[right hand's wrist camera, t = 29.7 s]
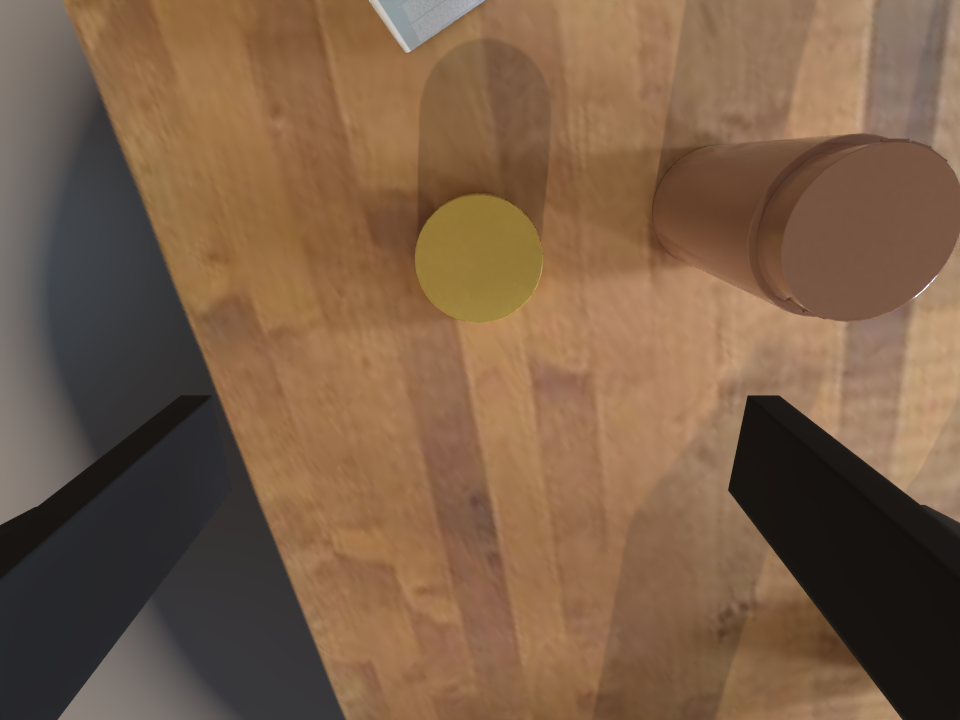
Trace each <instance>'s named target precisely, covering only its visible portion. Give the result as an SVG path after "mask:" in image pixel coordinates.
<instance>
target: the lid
mask: <svg viewBox="0 0 960 720" xmlns="http://www.w3.org/2000/svg"><path fill="white" fill-rule="evenodd" d="M527 216H528V215H527V214H526V213H523V212H522V211H521V210H520V209H519V208H518V207H517V205H516V204H515V203H514V204H513V203H511V202H510V201H508V200H506V199H505V198H504V197H503V196H502V197H499V196H496V195H492V194H491V193H489V194H487V193H477V192H475V193H470V194H465V195H463V194H461V196H458V197H456V198H453V199H451V200H450V199H449V200H448V201H447V202H446V203H445V204H443V205H442V206H441V207H440V208H439V207H438V208H437V209H436V211H435V212H434V213H433V214H432V216H431V217H429V218H428V219H427V220H426V221H427V222H426V223H425V225H424V226H423V228H422V230H421V231H420V232H419V233H420V234H419V237H418V240H417V244H416V245H415V247H416V249H415V259H414V261H415V269H416V274H417V277H418V280H419V283H420V285H421V287H422V289H423V291H424V293H425V294H426V296H427V297H428V299H429V300H430V301H431V302H432V303H433V304H434V305H435V306H436V307H437V308H438V309H439V310H441V311H442V312H444V313H445V314H447V315H449V316H451V317H453V318H455V319H458V320H461V321H465V322H471V323H487V322H493V321H496V320H500V319H502V318H505V317H507V316H509V315H510V314H512V313H514V312H515V311H517V310H518V309H519V308H521V307H522V306H523V305H524V304H525V303H526V302H527V300H528V299H529V298H530V297H531V295H532V294H533V292H534V290H535V289H536V286H537V284H538V282H539V279H540V275H541V271H542V264H543V253H542V247H541V243H540V241H541V240H540V238H539V236H538V234H537V231H536V229H535V228H536V227H535V226H534V225H533V224H532V223H531V221H530V220H529V219H528V217H527Z"/></svg>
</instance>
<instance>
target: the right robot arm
mask: <svg viewBox="0 0 960 720" xmlns="http://www.w3.org/2000/svg"><path fill="white" fill-rule="evenodd" d="M231 491H232V489H231V484H230V479H229V474H228V469H227V464H226V460H225V455H224V450H223V445H222V440H221V435H220V431H219V426H218V421H217V416H216V411H215V407H214V402H213V397H212V396H180V397H178V398H177V399H176V400H175V401H173V402H172V403H171V404H169V405H168V406H167V407H166V408H164V409H163V410H162V411H160V412H159V413H158V414H157V415H155V416H154V417H153V418H151V419H150V420H149V421H147V422H146V423H145V424H144V425H142V426H141V427H140V428H139V429H137V430H136V431H135V432H133V433H132V434H131V435H129V436H128V437H127V438H126V439H124V440H123V441H122V442H120V443H119V444H118V445H117V446H115V447H114V448H113V449H111V450H110V451H109V452H107V453H106V454H105V455H104V456H102V457H101V458H100V459H98V460H97V461H96V462H95V463H93V464H92V465H91V466H89V467H88V468H87V469H86V470H84V471H83V472H82V473H80V474H79V475H78V476H77V477H75V478H74V479H73V480H71V481H70V482H69V483H67V484H66V485H65V486H64V487H62V488H61V489H60V490H58V491H57V492H56V493H55V494H53V495H52V496H51V497H49V498H48V499H47V500H46V501H44V502H43V503H42V504H40V505H39V506H38V507H34V508H32V509H31V510H29V511H27V512H25V513H23V514H21V515H19V516H17V517H15V518H13V519H11V520H9V521H7V522H5V523H3V524H1V525H0V720H58V718H59V717H60V716H61V714H62V713H63V712H64V710H65V709H66V708H67V706H68V705H69V704H70V702H71V701H72V700H73V698H74V697H75V696H76V694H77V693H78V692H79V691H80V689H81V688H82V687H83V685H84V684H85V683H86V681H87V680H88V679H89V677H90V676H91V675H92V673H93V672H94V671H95V670H96V668H97V667H98V666H99V664H100V663H101V662H102V660H103V659H104V658H105V656H106V655H107V654H108V652H109V651H110V650H111V649H112V647H113V646H114V645H115V643H116V642H117V641H118V639H119V638H120V637H121V635H122V634H123V633H124V631H125V630H126V629H127V627H128V626H129V625H130V623H131V622H132V621H133V620H134V618H135V617H136V616H137V614H138V613H139V612H140V610H141V609H142V608H143V606H144V605H145V604H146V602H147V601H148V600H149V599H150V597H151V596H152V595H153V593H154V592H155V591H156V589H157V588H158V587H159V585H160V584H161V583H162V581H163V580H164V579H165V578H166V576H167V575H168V574H169V572H170V571H171V570H172V568H173V567H174V566H175V564H176V563H177V562H178V560H179V559H180V558H181V556H182V555H183V554H184V553H185V551H186V550H187V549H188V547H189V546H190V545H191V543H192V542H193V541H194V539H195V538H196V537H197V535H198V534H199V533H200V531H201V530H202V529H203V527H204V526H205V525H206V524H207V522H208V521H209V520H210V518H211V517H212V516H213V514H214V513H215V512H216V510H217V509H218V508H219V506H220V505H221V504H222V502H223V501H224V500H225V499H226V497H227V496H228V495H229V493H230V492H231ZM728 491H729V492H730V493H731V495H732V496H733V497H734V499H735V500H736V501H737V503H738V504H739V505H740V506H741V508H742V509H743V510H744V512H745V513H746V514H747V516H748V517H749V518H750V520H751V521H752V522H753V524H754V525H755V526H756V528H757V529H758V530H759V531H760V533H761V534H762V535H763V537H764V538H765V539H766V541H767V542H768V543H769V545H770V546H771V547H772V549H773V550H774V551H775V553H776V554H777V555H778V556H779V558H780V559H781V560H782V562H783V563H784V564H785V566H786V567H787V568H788V570H789V571H790V572H791V574H792V575H793V576H794V578H795V579H796V580H797V581H798V583H799V584H800V585H801V587H802V588H803V589H804V591H805V592H806V593H807V595H808V596H809V597H810V599H811V600H812V601H813V602H814V604H815V605H816V606H817V608H818V609H819V610H820V612H821V613H822V614H823V616H824V617H825V618H826V620H827V621H828V622H829V624H830V625H831V626H832V627H833V629H834V630H835V631H836V633H837V634H838V635H839V637H840V638H841V639H842V641H843V642H844V643H845V645H846V646H847V647H848V649H849V650H850V651H851V652H852V654H853V655H854V656H855V658H856V659H857V660H858V662H859V663H860V664H861V666H862V667H863V668H864V670H865V671H866V672H867V674H868V675H869V676H870V677H871V679H872V680H873V681H874V683H875V684H876V685H877V687H878V688H879V689H880V691H881V692H882V693H883V695H884V696H885V697H886V699H887V700H888V701H889V702H890V704H891V705H892V706H893V708H894V709H895V710H896V712H897V713H898V714H899V716H900V717H901V718H902V720H960V523H959V522H957V521H955V520H953V519H951V518H949V517H947V516H945V515H943V514H942V513H940V512H938V511H936V510H934V509H932V508H930V507H928V506H926V505H920V504H918V503H917V502H916V501H914V500H913V499H912V498H911V497H909V496H908V495H907V494H905V493H904V492H903V491H902V490H900V489H899V488H898V487H896V486H895V485H894V484H893V483H891V482H890V481H889V480H887V479H886V478H885V477H884V476H882V475H881V474H880V473H878V472H877V471H876V470H874V469H873V468H872V467H871V466H869V465H868V464H867V463H865V462H864V461H863V460H862V459H860V458H859V457H858V456H856V455H855V454H854V453H853V452H851V451H850V450H849V449H847V448H846V447H845V446H843V445H842V444H841V443H840V442H838V441H837V440H836V439H834V438H833V437H832V436H831V435H829V434H828V433H827V432H825V431H824V430H823V429H822V428H820V427H819V426H818V425H816V424H815V423H814V422H813V421H811V420H810V419H809V418H807V417H806V416H805V415H803V414H802V413H801V412H800V411H798V410H797V409H796V408H794V407H793V406H792V405H791V404H789V403H788V402H787V401H785V400H784V399H783V398H782V397H780V396H748V397H747V401H746V406H745V411H744V416H743V421H742V426H741V430H740V435H739V440H738V445H737V450H736V455H735V459H734V464H733V469H732V474H731V479H730V484H729V488H728Z"/></svg>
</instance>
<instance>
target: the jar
mask: <svg viewBox="0 0 960 720" xmlns="http://www.w3.org/2000/svg"><path fill="white" fill-rule="evenodd" d="M652 220H653V226H654V230H655V233H656V236H657V238H658V240H659V242H660V243H661V244H662V246H663V247H664V248H665V249H666V250H667V251H668V252H669V253H670V254H671V255H672V256H674V257H676V258H677V259H679V260H681V261H683V262H685V263H687V264H690V265H692V266H694V267H696V268H698V269H700V270H702V271H704V272H706V273H708V274H710V275H712V276H715V277H717V278H719V279H721V280H723V281H725V282H727V283H729V284H731V285H733V286H735V287H737V288H740V289H742V290H744V291H746V292H748V293H750V294H752V295H754V296H756V297H758V298H760V299H762V300H765V301H767V302H769V303H771V304H773V305H775V306H777V307H779V308H781V309H783V310H786V311H788V312H791V313H794V314H798V315H802V316H811V317H820V318H823V319H830V320H834V321H845V322H848V321H861V320H867V319H871V318H875V317H878V316H881V315H884V314H886V313H889V312H891V311H893V310H895V309H897V308H899V307H901V306H903V305H904V304H906V303H907V302H909V301H910V300H912V299H913V298H914V297H916V296H917V295H918V294H919V293H921V292H922V291H923V290H924V289H925V288H926V287H927V286H928V285H929V284H930V283H931V282H932V281H933V280H934V279H935V277H936V276H937V275H938V274H939V273H940V271H941V270H942V269H943V267H944V266H945V264H946V263H947V261H948V259H949V257H950V256H951V254H952V252H953V250H954V248H955V245H956V243H957V240H958V238H959V234H960V183H959V181H958V179H957V177H956V175H955V172H954V171H953V170H952V168H951V167H950V165H949V164H948V163H947V160H946V159H945V158H943V157H942V156H941V155H939V154H938V153H937V152H935V151H934V150H933V149H931V146H928V145H925V144H922V143H919V142H915V141H912V140H911V139H889V138H886V137H882V136H878V135H873V134H847V135H834V136H822V137H809V138H797V139H784V140H772V141H759V142H747V143H735V144H722V145H711V146H706V147H703V148H699V149H697V150H695V151H692V152H690V153H689V154H687V155H685V156H684V157H682V158H681V159H680V160H679V161H677V162H676V163H675V164H674V165H673V166H672V167H671V168H670V169H669V171H668V172H667V173H666V174H665V176H664V177H663V179H662V181H661V182H660V184H659V186H658V189H657V191H656V194H655V197H654V202H653V208H652Z"/></svg>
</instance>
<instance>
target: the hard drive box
mask: <svg viewBox="0 0 960 720" xmlns="http://www.w3.org/2000/svg"><path fill="white" fill-rule="evenodd" d="M483 1H485V0H369V2H370V3H371V5H372V6H373V8H374V9H375V10H376V12H377V13H378V15H379V16H380V17H381V19H382V20H383V22H384V23H385V25H386V26H387V28H388V29H389V31H390V32H391V33H392V35H393V36H394V38H395V39H396V40H397V42H398V43H399V44H400V46H401V47H402V48H403V50H404V51H405V52H406V53H408V52H410V51H412V50H413V49H415V48H416V47H418V46H419V45H421V44H422V43H424V42H425V41H427V40H428V39H430V38H431V37H433V36H434V35H435V34H437V33H438V32H440V31H441V30H443V29H444V28H446V27H447V26H449V25H450V24H452V23H453V22H454V21H456V20H457V19H459V18H460V17H462V16H463V15H464V14H466V13H467V12H469V11H470V10H472V9H473V8H475V7H476V6H478V5H479V4H480V3H482V2H483Z"/></svg>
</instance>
